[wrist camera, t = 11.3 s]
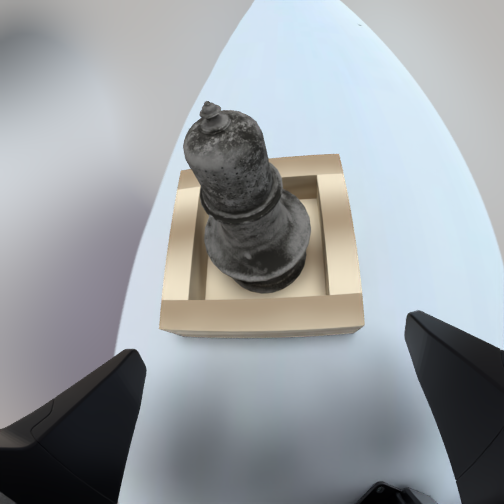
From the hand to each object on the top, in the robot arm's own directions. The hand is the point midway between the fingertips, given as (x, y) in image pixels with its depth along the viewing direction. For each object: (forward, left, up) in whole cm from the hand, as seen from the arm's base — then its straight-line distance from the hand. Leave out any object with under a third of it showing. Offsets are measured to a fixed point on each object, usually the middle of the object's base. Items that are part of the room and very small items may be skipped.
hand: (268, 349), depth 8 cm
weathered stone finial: (+5, +5, -8) cm, 11 cm away
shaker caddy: (+5, +5, -9) cm, 11 cm away
